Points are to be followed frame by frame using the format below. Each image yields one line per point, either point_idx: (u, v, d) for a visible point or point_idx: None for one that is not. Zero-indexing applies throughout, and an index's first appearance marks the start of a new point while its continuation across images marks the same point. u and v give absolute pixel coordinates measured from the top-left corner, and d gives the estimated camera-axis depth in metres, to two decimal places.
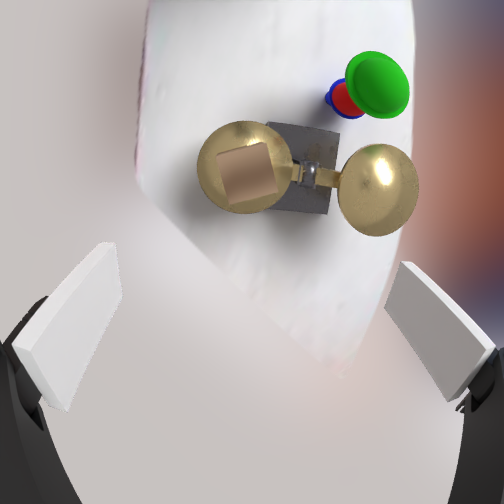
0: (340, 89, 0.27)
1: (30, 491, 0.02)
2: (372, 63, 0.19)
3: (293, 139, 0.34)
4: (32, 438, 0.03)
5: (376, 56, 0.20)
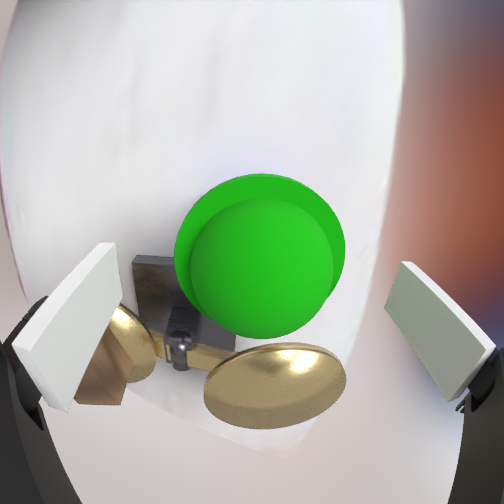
0: None
1: (30, 491, 0.02)
2: (215, 249, 0.10)
3: (170, 284, 0.24)
4: (32, 438, 0.03)
5: (254, 192, 0.11)
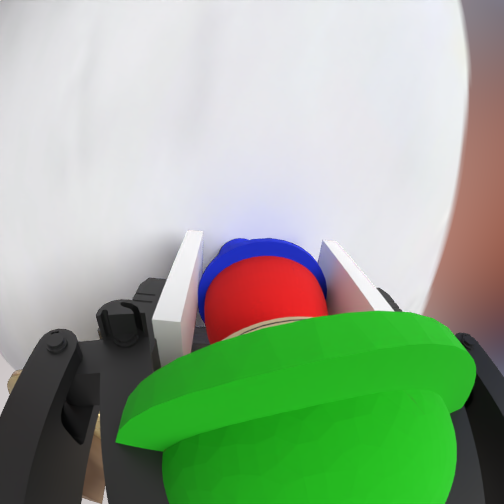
0: (210, 320, 0.10)
1: None
2: None
3: None
4: None
5: (325, 390, 0.03)
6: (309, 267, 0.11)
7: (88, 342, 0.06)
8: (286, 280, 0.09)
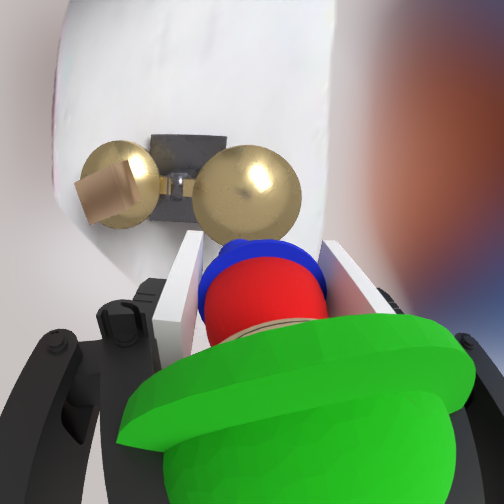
0: (210, 321, 0.10)
1: (164, 483, 0.03)
2: None
3: (176, 149, 0.32)
4: None
5: (325, 393, 0.03)
6: (309, 268, 0.11)
7: (88, 342, 0.06)
8: (286, 281, 0.09)
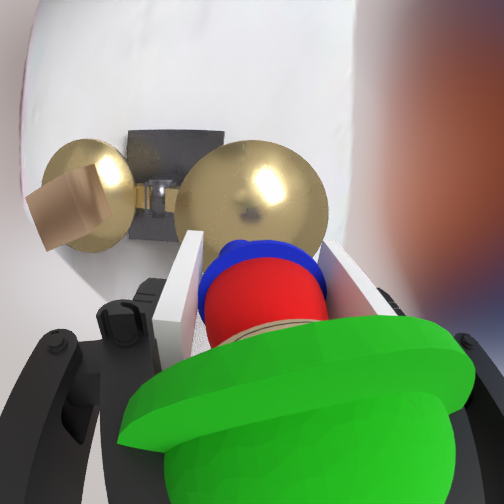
0: (210, 322, 0.10)
1: (164, 482, 0.03)
2: None
3: (159, 148, 0.25)
4: None
5: (325, 394, 0.03)
6: (309, 268, 0.11)
7: (88, 342, 0.06)
8: (286, 282, 0.09)
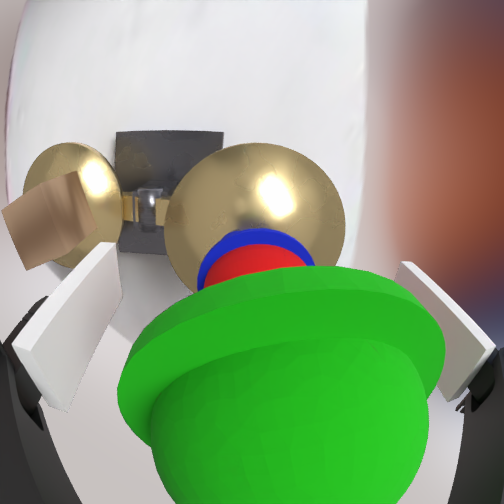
0: None
1: (30, 490, 0.02)
2: (192, 479, 0.03)
3: (150, 152, 0.22)
4: (32, 438, 0.03)
5: (291, 327, 0.04)
6: (300, 255, 0.12)
7: None
8: (277, 264, 0.10)
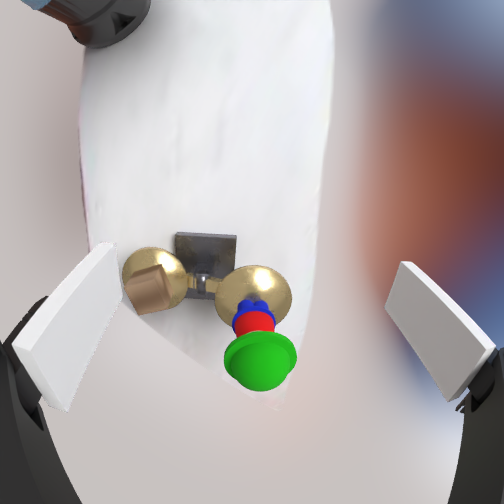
0: (237, 331, 0.33)
1: (30, 491, 0.02)
2: (243, 364, 0.25)
3: (196, 247, 0.44)
4: (32, 438, 0.03)
5: (257, 340, 0.26)
6: (268, 314, 0.34)
7: None
8: (259, 319, 0.33)
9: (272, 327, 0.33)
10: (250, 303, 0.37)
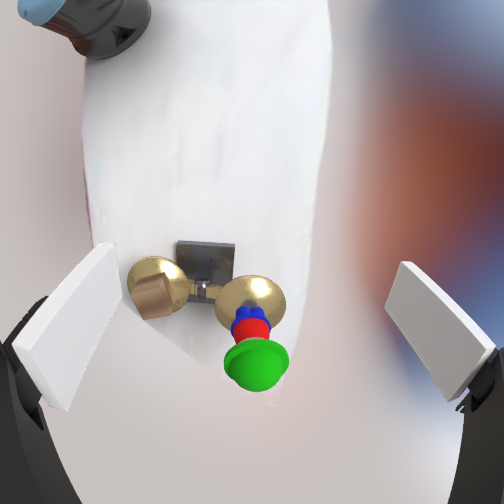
0: (236, 336, 0.36)
1: (30, 491, 0.02)
2: (241, 368, 0.28)
3: (197, 255, 0.47)
4: (32, 438, 0.03)
5: (253, 347, 0.29)
6: (264, 320, 0.38)
7: None
8: (256, 326, 0.36)
9: (267, 333, 0.36)
10: (247, 310, 0.40)
